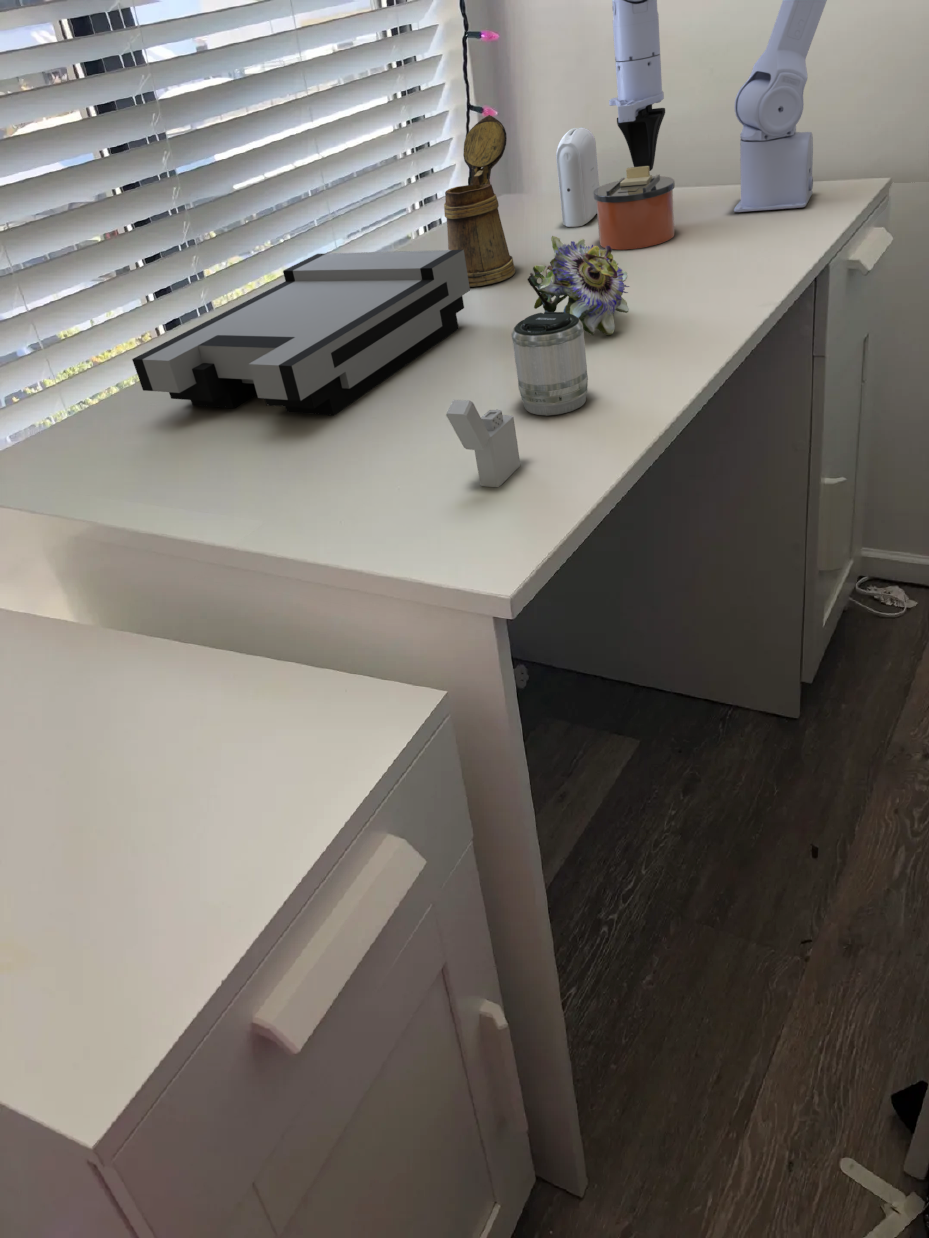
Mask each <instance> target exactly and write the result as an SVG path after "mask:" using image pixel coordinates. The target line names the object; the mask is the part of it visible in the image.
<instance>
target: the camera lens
mask: <svg viewBox="0 0 929 1238" xmlns="http://www.w3.org/2000/svg"><path fill="white" fill-rule="evenodd" d="M584 332H585V330H584V329H583V324H582V322H581V321H580V319H579V318H578V317H576V316H575V315H572V314H568V313H565V312H563V311H555V312H545V311H544V312H537V313H534V314H532V315H528V316H526V317H525V318H524V319H522V320H520V321H519V322H518V323H517V324H516V325H515V326H514V327H513V329H512V332H511V340H512V347H513V353H514V362H515V369H516V375H517V377H516V378H517V385H518V391H519V395H520V398H521V401H522V402H523V406H524V409H525V410H526V412H528V413H530V414H533V415H537V416H546V417H547V416H556V415H557V416H558V415H563V414H568V413H570V412H574V411H575V410H578V409H579V408H581V407H582V406H584V405H585V403H586V401H587V393H588V385H589V381H588V380H589V375H588V367H587V366H588V365H587V364H588V363H587V355H586V343H585V333H584Z"/></svg>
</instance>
